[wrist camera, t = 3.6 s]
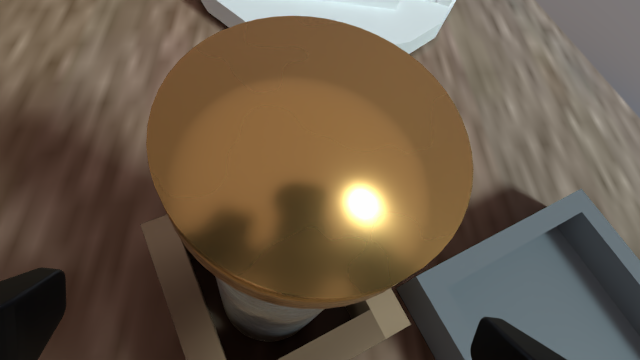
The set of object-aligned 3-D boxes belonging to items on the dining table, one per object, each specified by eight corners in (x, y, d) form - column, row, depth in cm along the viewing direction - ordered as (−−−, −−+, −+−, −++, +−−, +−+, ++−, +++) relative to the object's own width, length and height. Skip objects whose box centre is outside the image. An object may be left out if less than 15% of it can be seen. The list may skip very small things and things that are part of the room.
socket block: (386, 332, 18) (411, 324, 15) (218, 429, 15) (212, 439, 12) (309, 187, 21) (319, 159, 18) (155, 247, 18) (139, 224, 15)
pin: (349, 318, 18) (534, 210, 6) (237, 378, 16) (224, 374, 5) (298, 217, 20) (374, -6, 8) (193, 261, 18) (104, 50, 6)
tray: (694, 399, 19) (754, 401, 17) (541, 548, 15) (591, 576, 13) (548, 207, 23) (581, 188, 20) (396, 288, 19) (416, 276, 17)
